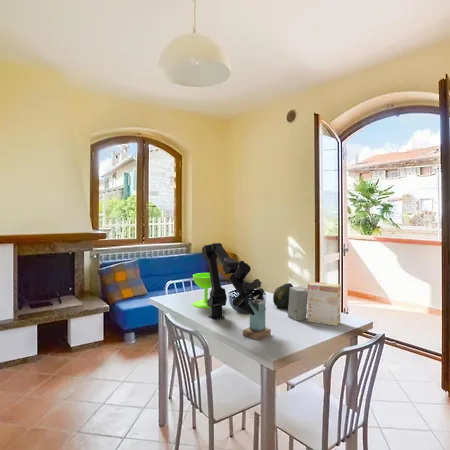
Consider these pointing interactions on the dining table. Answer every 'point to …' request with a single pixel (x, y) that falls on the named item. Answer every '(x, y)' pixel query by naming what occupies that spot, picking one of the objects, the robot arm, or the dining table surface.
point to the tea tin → (257, 315)
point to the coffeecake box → (324, 303)
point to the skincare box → (297, 303)
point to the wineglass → (202, 282)
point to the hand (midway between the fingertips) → (259, 312)
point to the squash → (282, 295)
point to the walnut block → (256, 333)
